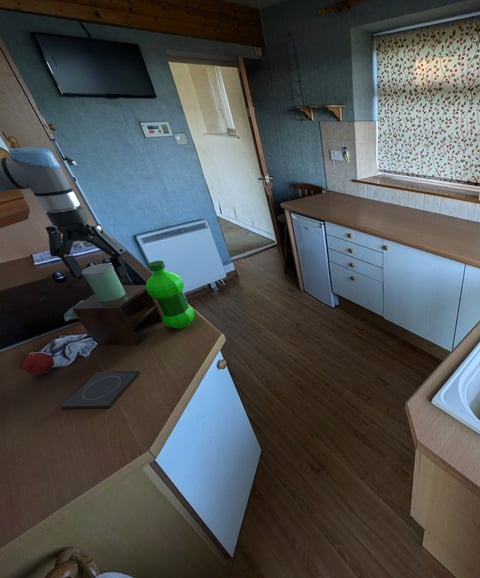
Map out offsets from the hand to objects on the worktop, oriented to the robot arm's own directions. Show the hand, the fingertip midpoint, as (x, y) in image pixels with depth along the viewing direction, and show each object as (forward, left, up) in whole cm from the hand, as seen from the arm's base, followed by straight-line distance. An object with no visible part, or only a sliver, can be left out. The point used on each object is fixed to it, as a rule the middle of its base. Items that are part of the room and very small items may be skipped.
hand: (101, 275), depth 92 cm
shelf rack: (0, 0, -23) cm, 23 cm away
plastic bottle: (+15, +4, -23) cm, 28 cm away
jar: (0, 0, -8) cm, 8 cm away
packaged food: (-23, +11, -23) cm, 34 cm away
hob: (+10, -26, -23) cm, 36 cm away
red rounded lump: (-12, -19, -23) cm, 32 cm away
